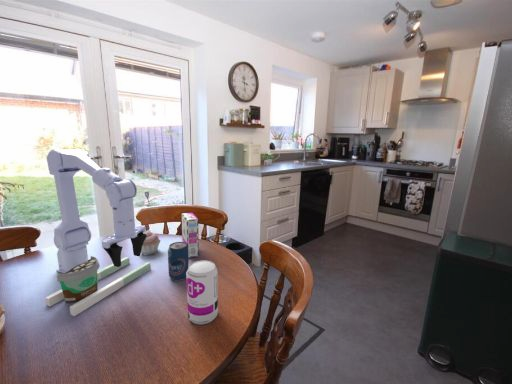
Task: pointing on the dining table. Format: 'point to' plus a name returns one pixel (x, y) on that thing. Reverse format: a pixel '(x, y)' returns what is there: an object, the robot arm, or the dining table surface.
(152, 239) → the cupcake
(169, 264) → the soda can
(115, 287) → the parallel rails
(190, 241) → the candy bar box
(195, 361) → the dining table surface
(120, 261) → the robot arm
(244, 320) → the dining table surface
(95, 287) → the food container
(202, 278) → the supplement can
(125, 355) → the dining table surface
